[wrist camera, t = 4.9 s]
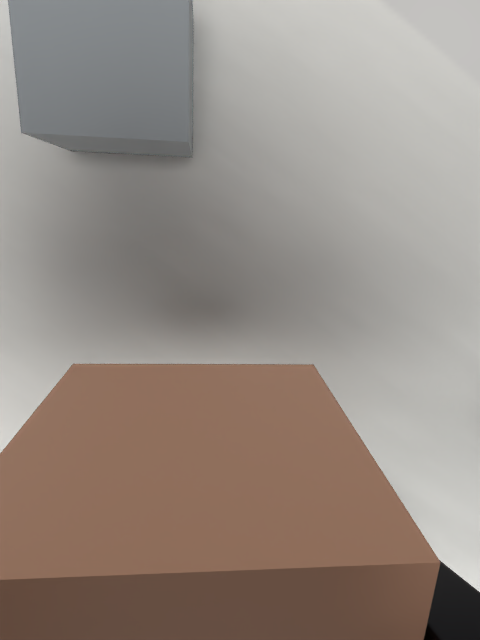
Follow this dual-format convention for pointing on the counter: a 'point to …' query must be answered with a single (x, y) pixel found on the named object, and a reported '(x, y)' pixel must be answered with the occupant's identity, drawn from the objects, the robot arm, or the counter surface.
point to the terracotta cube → (203, 513)
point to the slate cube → (105, 74)
